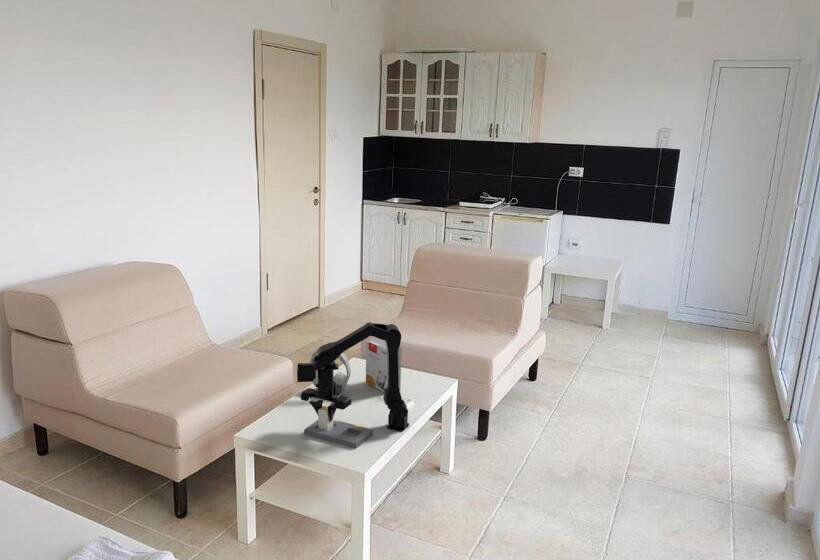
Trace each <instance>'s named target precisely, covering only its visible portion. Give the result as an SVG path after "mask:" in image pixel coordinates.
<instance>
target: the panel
mask: <svg viewBox="0 0 820 560" xmlns="http://www.w3.org/2000/svg"><path fill="white" fill-rule="evenodd" d="M303 434H304V435H305V436H308V437H312V438H316V439H320V440H323V441H327V442H331V443H335V444H339V445H342V446H345V447H349V448H354V449H358V448H359V447H360V446H362V444H364V442H366V441H367V440H368V439H369V438H371V437H372V436H373V435H374V430H373V428H369V427H365V426H361V425H357V424H352V423H349V422H345V421H341V420H338V419H337V420H336V419H333V428H332V429H331V430H329V431H325V430H322V429H318V419H317V420H315V421H314V422H313V423H311V424H310V425H308V426H307V427H306V428H304V429H303ZM347 434H353V435H356V436H355V437H352V436H347Z"/></svg>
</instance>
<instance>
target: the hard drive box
mask: <svg viewBox="0 0 820 560" xmlns="http://www.w3.org/2000/svg"><path fill="white" fill-rule="evenodd" d="M365 341H366V342H365V350H366V351H365V383H366V384H368V385H369V386H370V387H373V388H376V389H378V390H379V391H380V392H382V393H384V391H383V388H387V386H388V364H387V347H386V343H385V340H381V339H379V338H376V337H374V338H371V339H368V340H365ZM402 350H403V349H402V346H400V347H399V350H398V375H399V390H400V391H401V382H402V381H401V380H402V376H401V375H402V374H401V373H402Z"/></svg>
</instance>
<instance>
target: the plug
mask: <svg viewBox="0 0 820 560" xmlns="http://www.w3.org/2000/svg"><path fill="white" fill-rule="evenodd" d="M317 417H318V418H317V420H318V429H322V430H325V431H329V430H331V429H332V428H333V420H334V418H333V419H332V421H331V422H330V421H329V416H328V406H327V405H322V407H321V408H320V409H319V410H318V415H317Z"/></svg>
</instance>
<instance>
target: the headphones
mask: <svg viewBox="0 0 820 560" xmlns="http://www.w3.org/2000/svg"><path fill="white" fill-rule="evenodd" d="M317 351H318V349H316V350H315V351H314V352H313V353H312V354H311V356H310V359H309V363H312V360H313V359H314V358H315V356H316V355H317ZM337 359H339V361H340V363H342V364H343V366H344V367H345V371H346V374H345V373H343V372H342V371H338V372H337V373H335V375H333V377H334V381H335V382H336V383H337V384H342V385H343V386H342V391H341V393H338V394H339V395H340V396H341V395H342V394H343V392H344V390H345V389H346V388H347V386H348V381H349V380H350V377H351V373H352V370H351V366H350V363H349V360H348V359H349V358H347V356H346V355H345V354H344V352H343V353H342V354H341V355H340V356H339V357H338V358H337ZM317 383H318V370H317V371H316V379H314V381H313V382H312V384H313V385H314V387H315V388H316V390H317V391H318V387H316V384H317Z"/></svg>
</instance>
